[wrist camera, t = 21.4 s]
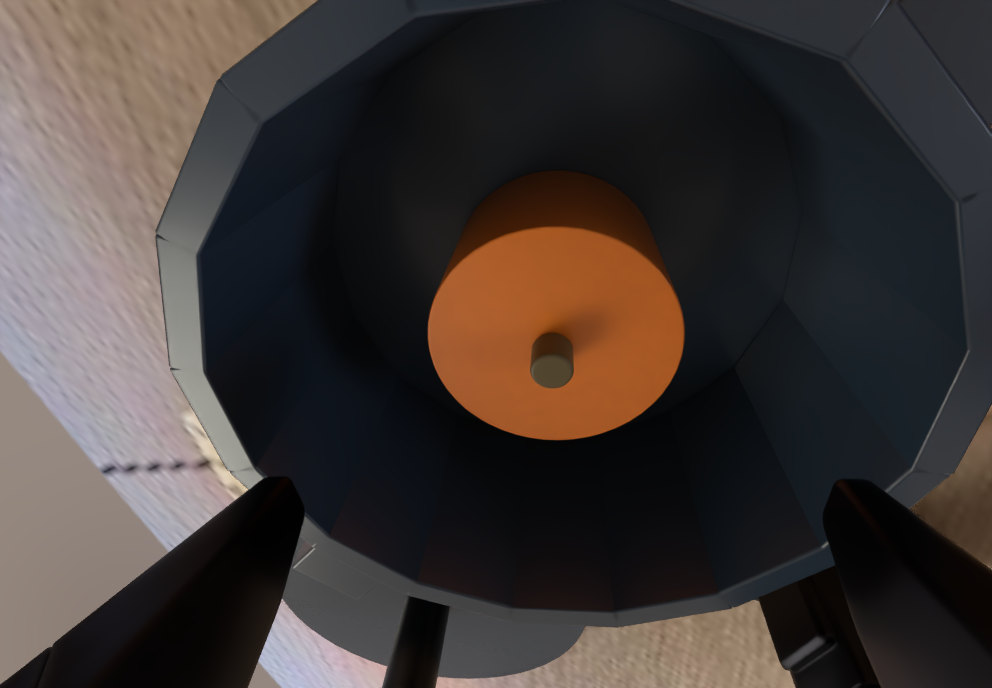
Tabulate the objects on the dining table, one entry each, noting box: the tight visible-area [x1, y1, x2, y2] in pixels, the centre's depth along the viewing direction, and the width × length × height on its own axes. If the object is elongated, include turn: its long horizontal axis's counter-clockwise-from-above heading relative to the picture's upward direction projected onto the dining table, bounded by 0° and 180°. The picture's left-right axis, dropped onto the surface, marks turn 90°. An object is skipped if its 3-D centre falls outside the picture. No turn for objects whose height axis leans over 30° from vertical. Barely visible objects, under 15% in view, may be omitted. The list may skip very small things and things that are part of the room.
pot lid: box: [282, 536, 585, 688], centre depth 25 cm, size 17×17×6 cm
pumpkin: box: [428, 170, 685, 440], centre depth 14 cm, size 6×6×5 cm
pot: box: [155, 0, 992, 628], centre depth 13 cm, size 16×21×8 cm
